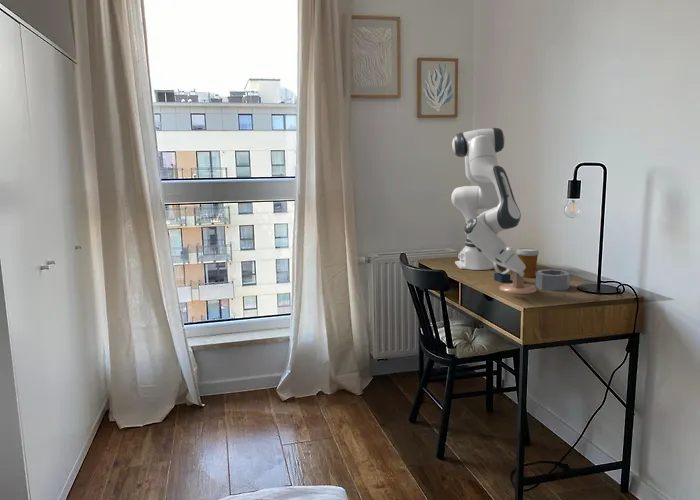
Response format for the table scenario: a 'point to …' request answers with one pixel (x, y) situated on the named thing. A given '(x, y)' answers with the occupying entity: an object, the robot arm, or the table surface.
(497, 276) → the watch
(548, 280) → the bowl
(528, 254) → the disposable coffee cup
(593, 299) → the table surface
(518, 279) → the lid
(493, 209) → the robot arm
